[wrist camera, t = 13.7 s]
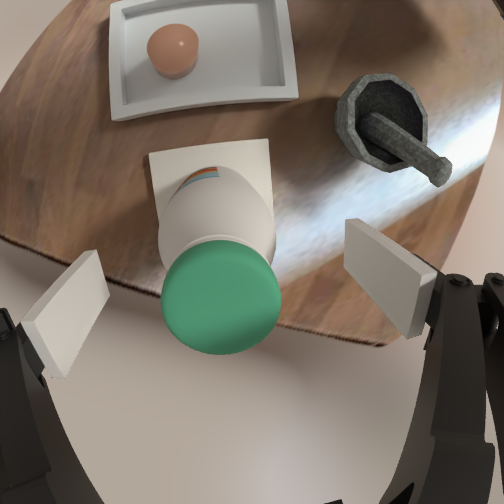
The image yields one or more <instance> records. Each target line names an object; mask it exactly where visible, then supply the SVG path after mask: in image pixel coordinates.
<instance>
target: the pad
mask: <svg viewBox="0 0 504 504" xmlns="http://www.w3.org/2000/svg"><path fill="white" fill-rule="evenodd" d="M149 160H150V168H151V175H152V182H153V189H154V196H155V202H156V208H157V214H158V220H159V225H160V221H161V217H162V215H163V212H164V210H165V208H166V206H167V205H168V203H169V201H170V199H171V198H172V196H173V195H174V194H175V192H176V191H177V189H178V188H179V187H180V186H181V184H182V183H183V182H184V181H185V180H186V178H187V177H189V176H190V175H191V174H192V173H194V172H195V171H197V170H199V169H201V168H204V167H207V166H224V167H228V168H230V169H233V170H235V171H236V172H238V173H239V174H241V175H242V176H243V177H244V178H245V179H246V180H247V181H248V182H249V183H250V184H251V185H252V186H253V188H254V189H255V190H256V191H257V192H258V193H259V194H260V196H261V197H262V199H263V200H264V202H265V203H266V205H267V206H268V208H269V210H270V212H271V215H272V218H273V221H274V212H273V197H272V182H271V169H270V155H269V143H268V139H255V140H243V141H232V142H223V143H214V144H206V145H198V146H190V147H184V148H177V149H171V150H165V151H159V152H153V153H149ZM275 250H276V249H275Z"/></svg>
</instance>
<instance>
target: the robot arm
mask: <svg viewBox="0 0 504 504" xmlns="http://www.w3.org/2000/svg"><path fill="white" fill-rule="evenodd" d="M492 1H493V2H494V4H495V5H496V7H497V9H498V10H499V12H500V15H501V17H502V18H503V20H504V0H492ZM344 268H345V269H346V270H347V272H348V273H349V274H350V275H351V276H352V277H353V278H354V279H355V280H356V281H357V283H358V284H359V285H360V286H361V287H362V288H363V289H364V290H365V292H366V293H367V294H368V295H369V296H370V297H371V298H372V299H373V301H374V302H375V303H376V304H377V305H378V306H379V307H380V309H381V310H382V311H383V312H384V313H385V314H386V316H387V317H388V318H389V319H390V320H391V321H392V323H393V324H394V325H395V326H396V327H397V329H398V330H399V331H400V332H401V333H402V335H403V336H404V337H405V338H406V339H410V338H413V337H416V336H419V335H421V334H422V331H423V328H424V324H425V322H426V323H427V324H428V325H429V326H430V327H431V328H430V331H429V334H428V337H427V340H426V343H425V346H424V350H426V355H425V361H424V367H423V373H422V378H421V383H420V388H419V393H418V397H417V401H416V406H415V410H414V414H413V418H412V422H411V425H410V429H409V432H408V435H407V439H406V442H405V445H404V448H403V451H402V454H401V457H400V460H399V463H398V466H397V468H396V471H395V474H394V476H393V479H392V481H391V483H390V485H389V487H388V489H387V490H386V492H385V494H384V495H383V497H382V498H381V500H380V502H379V504H487V503H488V499H489V494H490V488H491V483H492V476H493V469H494V462H495V447H494V445H493V443H486V442H485V440H484V433H485V418H486V416H485V415H486V390H487V394H488V398H489V402H490V406H491V410H492V415H493V420H494V424H495V430H496V436H497V441H498V449H499V456H500V465H501V476H502V485H503V493H504V276H503V275H502V274H499V273H488V274H486V276H485V279H484V283H483V285H474V284H473V283H472V281H471V280H470V279H469V278H467V277H465V276H463V275H459V274H447V275H444V274H443V273H442V272H440V271H439V270H438V269H436V268H435V267H433V266H432V265H430V264H429V263H428V262H426V261H424V259H422V258H421V257H419V256H418V255H416V254H413V253H410V252H409V251H407V250H406V249H404V248H403V247H401V246H400V245H398V244H397V243H396V242H394V241H393V240H391V239H389V238H388V237H386V236H385V235H383V234H382V233H380V232H379V231H377V230H376V229H374V228H373V227H371V226H369V225H368V224H366V223H365V222H363V221H362V220H360V219H358V218H357V219H346V220H345V248H344ZM109 296H110V293H109V290H108V287H107V284H106V280H105V277H104V274H103V270H102V267H101V264H100V260H99V256H98V253H97V249H96V250H89V251H85V252H84V253H82V254H81V255H80V256H79V257H78V258H77V259H76V260H75V261H74V262H73V263H72V264H71V265H70V266H69V267H68V268H67V269H66V271H65V272H64V273H63V274H62V275H61V276H60V277H59V278H58V279H57V280H56V281H55V282H54V283H53V284H52V285H51V287H50V288H49V289H48V290H47V291H46V292H45V293H44V294H43V295H42V296H41V297H40V299H39V300H38V301H37V302H36V303H35V304H34V305H33V306H32V308H31V309H30V310H29V311H28V312H27V314H26V315H25V316H24V317H23V318H22V319H21V321H20V323H19V324H18V325H17V327H15V325H14V323H13V321H12V319H11V317H10V315H9V313H8V311H7V309H6V308H0V504H104V502H103V501H102V499H101V498H100V496H99V495H98V493H97V491H96V490H95V488H94V487H93V485H92V483H91V481H90V480H89V478H88V476H87V474H86V473H85V471H84V469H83V467H82V465H81V464H80V462H79V460H78V458H77V456H76V454H75V452H74V450H73V448H72V446H71V444H70V441H69V439H68V437H67V435H66V433H65V431H64V428H63V426H62V423H61V421H60V419H59V416H58V414H57V411H56V409H55V406H54V403H53V401H52V398H51V395H50V393H49V389H48V386H47V383H46V380H45V378H44V377H43V375H42V374H41V373H42V371H43V369H44V367H45V368H46V370H47V372H48V373H49V375H50V376H51V378H57V379H66V377H67V375H68V373H69V371H70V369H71V367H72V365H73V363H74V361H75V358H76V357H77V355H78V353H79V351H80V349H81V347H82V345H83V343H84V341H85V339H86V337H87V335H88V334H89V332H90V330H91V328H92V326H93V324H94V322H95V321H96V319H97V317H98V315H99V314H100V312H101V310H102V308H103V306H104V305H105V303H106V301H107V300H108V298H109ZM498 322H499V323H498ZM497 325H498V329H497V328H496V327H497ZM10 485H11V486H10ZM325 504H343V502H342V500H341V499H340V500H336V501H333V502H329V503H325Z"/></svg>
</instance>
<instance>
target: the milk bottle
mask: <svg viewBox="0 0 504 504" xmlns="http://www.w3.org/2000/svg"><path fill="white" fill-rule="evenodd" d="M158 246H159V253H160V257H161V260H162V263H163V265H164V267H165V269H166V271H167V275H166V277H165V280H164V283H163V287H162V292H161V309H162V314H163V318H164V321H165V323H166V325H167V327H168V328H169V330H170V331H171V332H172V334H173V335H174V336H175V337H176V338H177V339H178V340H179V341H180V342H182V343H183V344H185V345H186V346H188V347H190V348H192V349H194V350H197V351H200V352H203V353H207V354H215V355H226V354H233V353H238V352H241V351H244V350H247V349H249V348H251V347H253V346H255V345H256V344H258V343H259V342H261V341H262V340H263V339H264V338H265V337H266V336H267V335H268V334H269V333H270V332H271V330H272V329H273V328H274V326H275V324H276V322H277V320H278V317H279V314H280V308H281V293H280V288H279V285H278V282H277V279H276V277H275V275H274V272H273V271H272V269H271V267H270V266H271V263H272V261H273V257H274V254H275V249H276V230H275V225H274V221H273V218H272V215H271V212H270V210H269V208H268V206H267V205H266V203H265V202H264V200H263V199H262V197H261V196H260V194H259V193H258V192H257V191H256V190H255V189H254V188H253V186H252V185H251V184H250V183H249V182H248V181H247V180H246V179H245V178H244V177H243V176H242V175H241V174H239V173H238V172H236V171H235V170H233V169H230V168H228V167H224V166H207V167H204V168H201V169H199V170H197V171H195V172H194V173H192V174H191V175H190V176H189V177H187V178H186V180H185V181H184V182H183V183H182V184H181V186H180V187H179V188H178V189H177V191H176V192H175V194H174V195H173V196H172V198H171V199H170V201H169V203H168V205H167V206H166V208H165V210H164V212H163V215H162V217H161V221H160V225H159V231H158Z"/></svg>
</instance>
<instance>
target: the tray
mask: <svg viewBox="0 0 504 504" xmlns="http://www.w3.org/2000/svg"><path fill="white" fill-rule="evenodd" d="M168 24H184V25H187V26H189V27H190V28H192V29H193V30H194V31H195V32H196V34H197V36H198V40H199V45H198V58H197V64H196V66H195V68H194V69H193V71H192V72H191V73H189V74H188V75H187V76H185V77H182V78H179V79H167V78H164V77H162V76H161V75H159V74H158V73H157V71H156V69H155V67H154V65H153V64H152V62H151V60H150V58H149V56H148V53H147V43H148V40H149V38H150V37H151V35H152V34H153V33H154V32H155V31H156V30H158V29H159V28H161V27H163V26H165V25H168ZM109 86H110V105H111V118H112V120H113V121H118V122H121V121H126V120H130V119H135V118H139V117H144V116H149V115H154V114H160V113H165V112H171V111H177V110H184V109H191V108H198V107H206V106H215V105H225V104H236V103H251V102H272V101H293V100H295V99H297V98H299V95H298V85H297V75H296V66H295V58H294V49H293V41H292V34H291V27H290V20H289V13H288V6H287V0H123V1H119V2H116V3H113V4H111V10H110V27H109Z"/></svg>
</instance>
